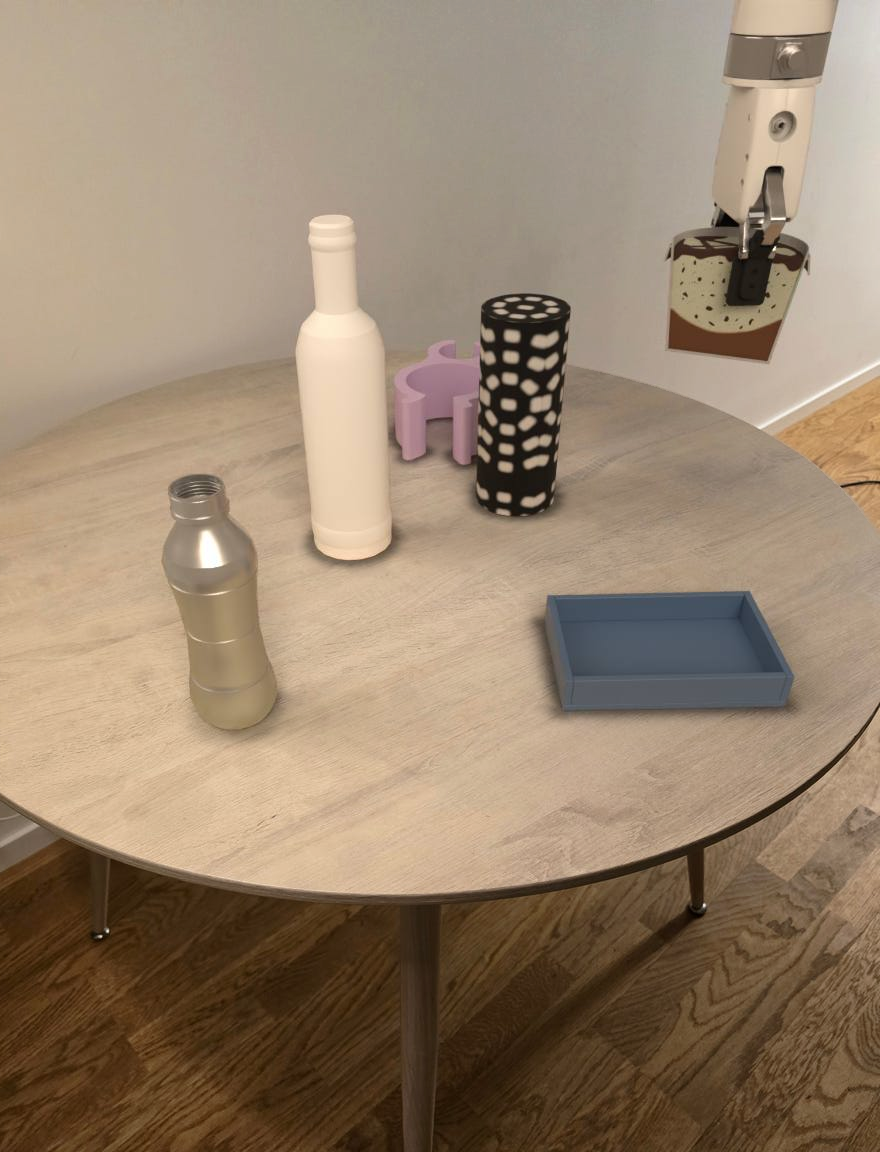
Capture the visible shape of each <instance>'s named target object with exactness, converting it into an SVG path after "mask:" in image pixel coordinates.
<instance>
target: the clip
mask: <svg viewBox="0 0 880 1152" xmlns="http://www.w3.org/2000/svg"><path fill="white" fill-rule="evenodd" d="M456 346H457V342H456V340H455V339H446V340H442V341H438V342H435V343H434V344H432V345H431V346H429V348H428V349H427V358H426V359H425V360H422V361H420V362H417V363H413V364H411V365H408V366H405V367H404V368H402V369H401V370H399V371H398V372H397V373H396V374H395V376H394V378H393V392H394V393H393V395H394V397H393V398H394V419H395V420H394V425H395V439H396V442H397V444H399V445H400V447H401V448H402V449H401V450H402V451H401V454H402V457H401V458H402V459H403V460H405V461H413V460H414V459H418V458H420V457H422V456H423V455H425V454H426V453H427V428H426V427H427V421H428V420H429V421H430V420H433V419H434V420H435V419H441V418H443V419H444V418H452V459H454V460H455V461H456V462H457V463H458V464H459V465H461V466H466V465H467V466H468V465H470V464H471V463H472V456H475V455H477V439H478V403H479V367H480V340H478V341H476V342H474V351H473V352H474V353H473V354H474V355H473V357H471V358H462V359H461V358H460V359H459V358H457V357H456V355H457V352H456V351H457V350H456V349H457V347H456Z"/></svg>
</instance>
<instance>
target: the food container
mask: <svg viewBox="0 0 880 1152" xmlns="http://www.w3.org/2000/svg"><path fill="white" fill-rule="evenodd" d="M756 230H761V228H750V240H751V238H752V236H753V235H754V233H755V232H756ZM779 236H780V240H779V241H778V242H777V244H776V253H775V257H774V258H773V261H772V266H771V271H770V275H769V280H768V285H767V290H766V294H765V299H764V302H763V304H761V305H755V306H728V304H727V303H726V295H727V289H728V284H729V278H730V273H731V268H732V262H733V257H738V251H739V227H711V226H710V227H702V228H693V229H690V230H685V231H682V232H679V233H677V234H676V235H674V236H673V237H672V240H671V243H669V244H668V246H667V249H666V252H665V254H664V257H663V261H662V262H664V263H666V261H668V260H669V259H670V265H669V266H670V267H669V281H668V282H669V284H668V298H667V315H666V316H667V317H666V334H665V350H664V351H665V352H669V353H670V352H671V353H677V354H685V355H693V356H700V357H708V358H715V359H723V360H731V361H737V362H745V363H746V362H747V363H754V364H761V365H770V363H771V360H772V359H773V358H772V357H773V355H774V352H775V349H776V347H777V343H778V341H779V338H780V335H781V331H782V330H783V327H784V323H785V321H786V318H787V316H788V313H789V310H790V308H791V305H792V301H793V299H794V295H795V293H796V290H797V288H798V285H799V282H800V279H801V276H802V274H803V271H804V270H805V271H806V273H807V274H806V275H807V276H810V275H811V254H810V245H808V243H807V242H806V241H804V240H802V239H801V238H799V237H796V236H794V235H791V234H788V233H784V232H781V233H780V235H779Z"/></svg>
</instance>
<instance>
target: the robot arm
mask: <svg viewBox="0 0 880 1152" xmlns="http://www.w3.org/2000/svg"><path fill="white" fill-rule="evenodd" d="M839 1H840V0H734V3H733V8H732V9H733V10H732V15H731V22H730V29H729V32H730V33H729V34H728V40H727V46H726V53H725V58H724V65H723V72H722V77H721V78H722V79H721V83H722V84H724V85H726V86H727V85H728V86H730V89H729V93H728V97H727V102H726V103H725V111H724V116H723V119H722V120H723V121H722V124H721V130H720V135H719V141H718V144H717V145H718V146H717V151H716V156H715V164H714V169H713V177H712V185H711V186H712V187H711V196H712V200H713V201H714V202H713V206H714V207H715V209H714V211H713V214H712V217H711V221H710V228H711V227H739V251H738V257H733V262H732V268H731V273H730V278H729V284H728V289H727V295H726V303H727V304H728V306H755V305H761V304H763V302H764V299H765V294H766V290H767V285H768V280H769V275H770V271H771V266H772V261H773V258H774V257H775V253H776V244H777V242H778V241H779V240H780V236H779V235H780V233H782V231H783V229H784V227H785V226H786V224H787V223H791V222H792V221H793V220H794V219H795V218H796V217H797V214H798V211H799V207H800V206H799V205H800V201H801V196H802V190H803V184H804V178H805V173H806V167H807V162H808V161H807V160H808V156H809V151H810V150H809V149H810V144H811V137H812V131H813V130H812V129H813V122H814V113H815V101H816V85H818V84H820V83H822V80H823V73H824V70H825V66H826V61H827V56H828V52H829V47H830V42H831V39H832V34H833V33H832V32H833V30H834V24H835V19H836V14H837V10H838V6H839ZM755 213H756V214H757V213H763V216H753V217H752V216H751V215H750V214H755ZM750 228H754V229H761V230H756V232H755V233H754V235H753V236H752V238H751V240H750Z"/></svg>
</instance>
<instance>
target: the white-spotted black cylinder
mask: <svg viewBox="0 0 880 1152" xmlns="http://www.w3.org/2000/svg"><path fill="white" fill-rule="evenodd" d="M571 309H572V307H571V305H570V304H569V302H567V301H566V300H564V299H562V298H559V297H556V296H553V295H547V294H541V293H531V292H529V293H528V292H526V293H524V292H520V293H510V294H502V295H498V296H494V297H491V298H489V299H487V300H486V301H484V302H482V304H481V307H480V334H479V335H480V336H479V341H480V367H479V403H478V439H477V454H476V477H475V478H476V479H475V480H476V481H475V499H476V502H477V503H478V504H479V505H480V507H482V508H483V509H485V510H487V511H489V512H491V513H494V514H497V515H502V516H508V517H527V516H533V515H537V514H539V513H542V512H543V511H546V510H548V509H549V508H550V507H551V505H553V503H554V500H555V490H556V481H557V480H556V479H557V468H558V457H559V445H560V434H561V426H562V425H561V423H562V412H563V402H564V401H563V400H564V391H565V378H566V369H567V368H566V367H567V356H568V345H569V335H570V323H571V313H572V310H571Z"/></svg>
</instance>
